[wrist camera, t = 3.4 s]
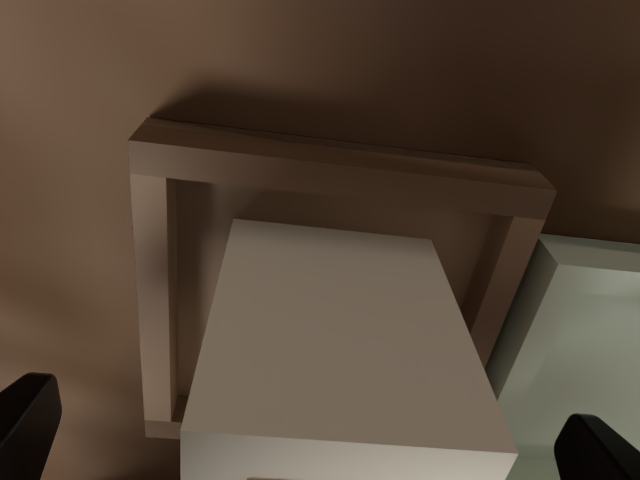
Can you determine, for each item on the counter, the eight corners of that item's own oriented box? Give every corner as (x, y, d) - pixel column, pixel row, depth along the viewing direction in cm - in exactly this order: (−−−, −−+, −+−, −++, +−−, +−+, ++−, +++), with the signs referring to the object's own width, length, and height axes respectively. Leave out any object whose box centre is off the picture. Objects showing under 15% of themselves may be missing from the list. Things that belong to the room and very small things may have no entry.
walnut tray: (437, 418, 14) (448, 457, 13) (158, 397, 13) (145, 436, 12) (531, 164, 10) (557, 190, 9) (147, 117, 9) (127, 140, 8)
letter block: (392, 379, 12) (439, 616, 8) (225, 366, 12) (180, 607, 8) (433, 240, 10) (524, 458, 6) (233, 218, 10) (180, 434, 6)
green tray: (684, 471, 15) (711, 509, 14) (444, 454, 15) (455, 494, 14) (847, 266, 12) (900, 299, 11) (534, 232, 11) (558, 263, 10)
